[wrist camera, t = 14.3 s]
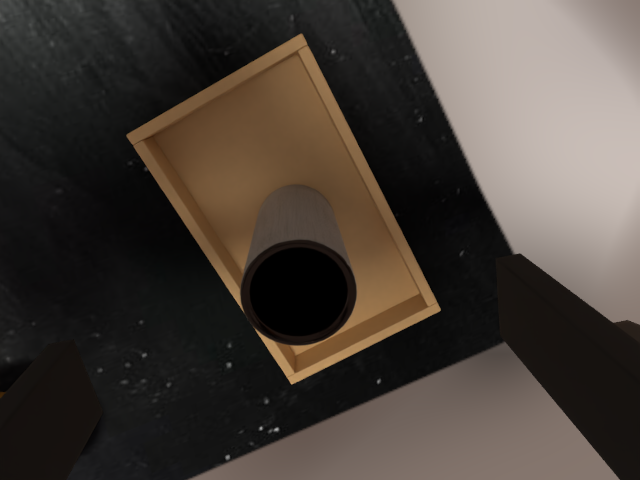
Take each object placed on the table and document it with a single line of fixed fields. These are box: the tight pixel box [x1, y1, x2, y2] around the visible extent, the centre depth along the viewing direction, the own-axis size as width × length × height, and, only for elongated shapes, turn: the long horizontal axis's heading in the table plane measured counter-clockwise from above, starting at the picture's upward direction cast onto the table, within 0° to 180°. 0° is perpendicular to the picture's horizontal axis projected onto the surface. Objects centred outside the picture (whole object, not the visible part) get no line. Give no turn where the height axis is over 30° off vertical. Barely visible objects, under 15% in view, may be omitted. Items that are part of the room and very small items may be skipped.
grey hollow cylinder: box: [240, 184, 357, 346], centre depth 23 cm, size 4×4×10 cm
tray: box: [126, 34, 441, 384], centre depth 27 cm, size 17×10×3 cm, turn 28°
